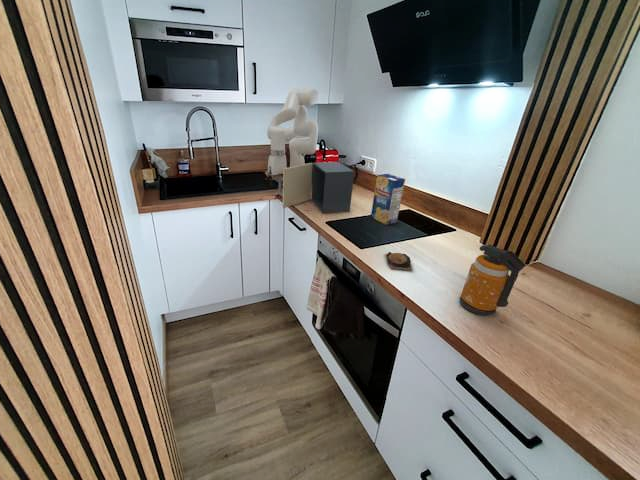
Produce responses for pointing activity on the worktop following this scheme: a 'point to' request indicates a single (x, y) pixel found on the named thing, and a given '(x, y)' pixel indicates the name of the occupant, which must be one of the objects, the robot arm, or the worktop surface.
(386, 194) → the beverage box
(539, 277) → the worktop surface
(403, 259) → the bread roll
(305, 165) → the cupboard door
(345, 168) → the cupboard
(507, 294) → the canister
